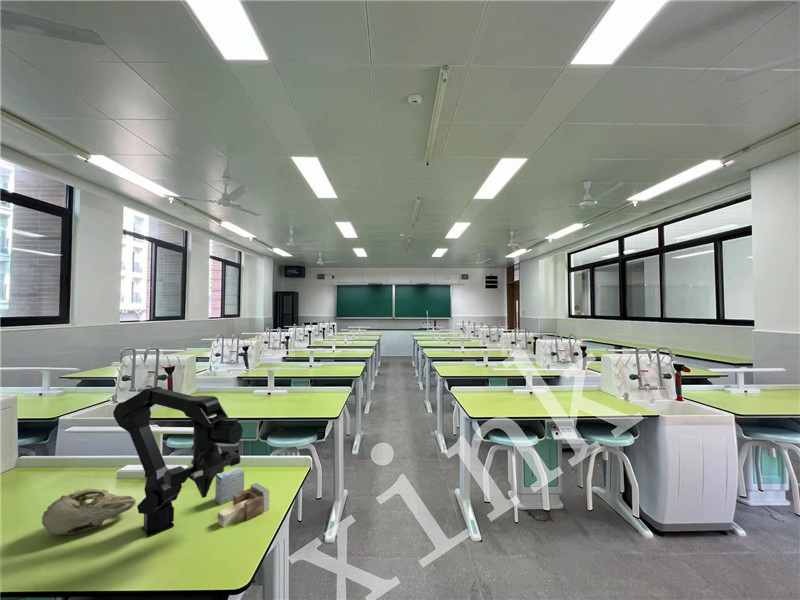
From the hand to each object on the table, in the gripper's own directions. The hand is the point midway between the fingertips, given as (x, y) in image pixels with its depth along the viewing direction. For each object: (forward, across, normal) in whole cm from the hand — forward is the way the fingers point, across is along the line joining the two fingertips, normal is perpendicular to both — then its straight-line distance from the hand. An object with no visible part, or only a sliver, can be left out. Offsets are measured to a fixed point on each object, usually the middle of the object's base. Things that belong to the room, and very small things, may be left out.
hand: (203, 497), depth 99 cm
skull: (+10, -19, +30) cm, 37 cm away
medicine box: (+10, +14, +13) cm, 22 cm away
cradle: (+10, +14, 0) cm, 17 cm away
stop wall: (+10, +17, 0) cm, 20 cm away
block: (+10, +10, 0) cm, 14 cm away
